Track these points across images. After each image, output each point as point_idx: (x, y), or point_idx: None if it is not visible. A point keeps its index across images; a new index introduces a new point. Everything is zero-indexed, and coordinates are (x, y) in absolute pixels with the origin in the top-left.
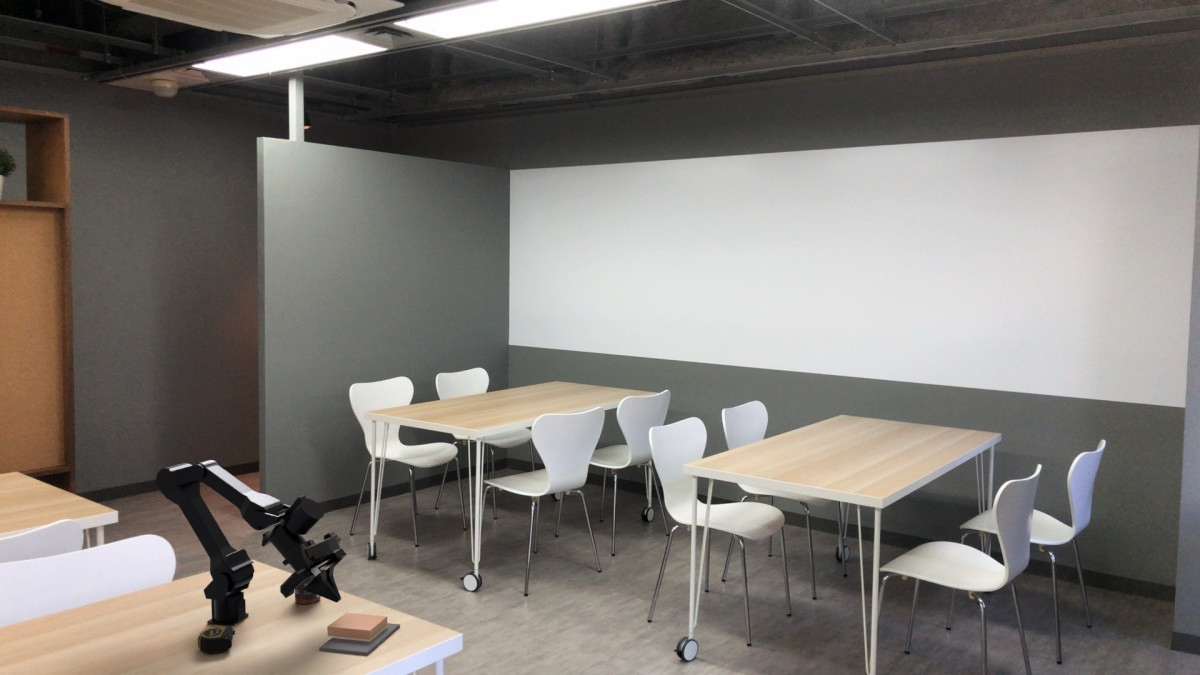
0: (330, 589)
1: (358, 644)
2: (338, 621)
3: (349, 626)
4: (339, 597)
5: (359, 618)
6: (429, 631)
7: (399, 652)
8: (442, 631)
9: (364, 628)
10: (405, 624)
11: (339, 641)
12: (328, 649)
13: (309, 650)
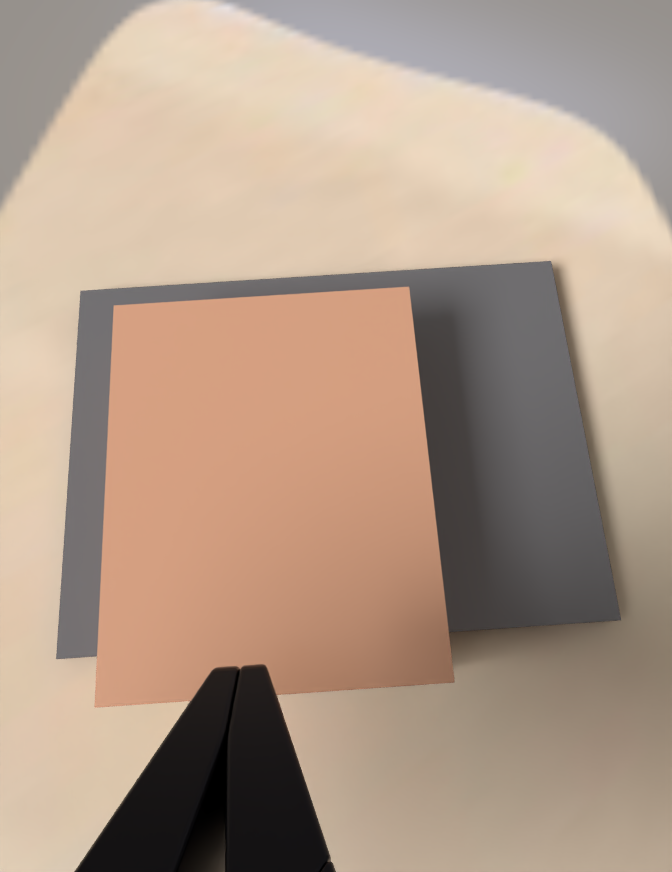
0: (319, 835)
1: (466, 375)
2: (315, 648)
3: (389, 480)
4: (236, 682)
5: (206, 495)
6: (122, 117)
7: (440, 134)
8: (108, 59)
9: (385, 345)
10: (40, 288)
11: (470, 532)
12: (602, 539)
13: (642, 697)
